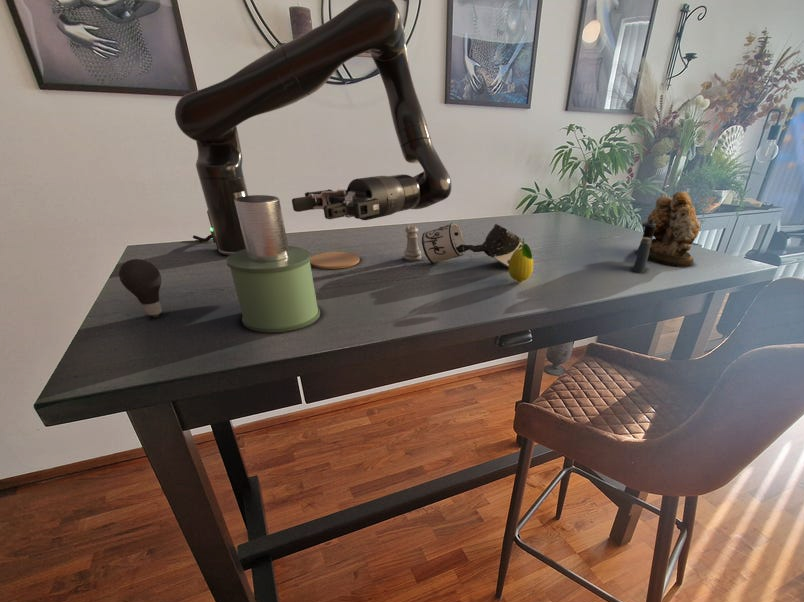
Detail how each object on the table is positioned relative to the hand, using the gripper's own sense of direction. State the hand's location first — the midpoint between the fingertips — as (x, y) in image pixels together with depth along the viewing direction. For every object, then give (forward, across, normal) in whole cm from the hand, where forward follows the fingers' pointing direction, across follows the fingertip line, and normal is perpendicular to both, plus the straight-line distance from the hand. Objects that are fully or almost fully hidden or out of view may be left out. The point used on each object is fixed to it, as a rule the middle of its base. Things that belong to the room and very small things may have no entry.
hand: (309, 209), depth 77 cm
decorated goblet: (-39, +8, +18) cm, 43 cm away
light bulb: (+23, -17, +17) cm, 33 cm away
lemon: (-35, +24, +18) cm, 46 cm away
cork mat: (-18, -18, +17) cm, 31 cm away
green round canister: (+9, 0, +17) cm, 20 cm away
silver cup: (+9, 0, +6) cm, 11 cm away
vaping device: (-64, +43, +18) cm, 79 cm away
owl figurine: (-80, +44, +18) cm, 93 cm away
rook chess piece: (-32, -6, +18) cm, 37 cm away
